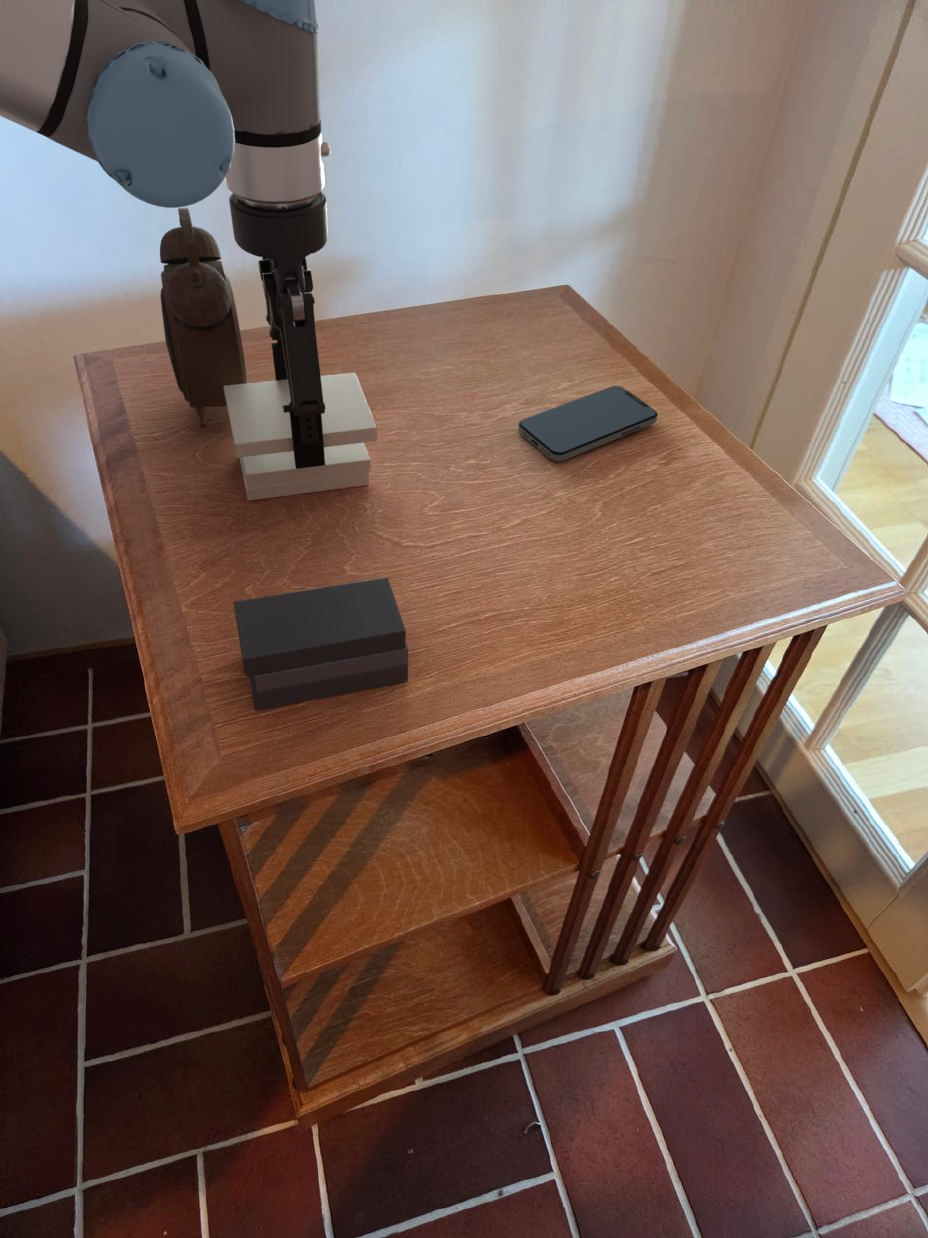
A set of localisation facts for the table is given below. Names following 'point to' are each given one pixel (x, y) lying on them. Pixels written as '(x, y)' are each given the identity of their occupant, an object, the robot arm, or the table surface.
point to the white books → (305, 472)
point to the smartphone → (587, 423)
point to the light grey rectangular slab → (269, 427)
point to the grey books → (321, 642)
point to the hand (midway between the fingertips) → (300, 432)
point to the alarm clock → (199, 317)
